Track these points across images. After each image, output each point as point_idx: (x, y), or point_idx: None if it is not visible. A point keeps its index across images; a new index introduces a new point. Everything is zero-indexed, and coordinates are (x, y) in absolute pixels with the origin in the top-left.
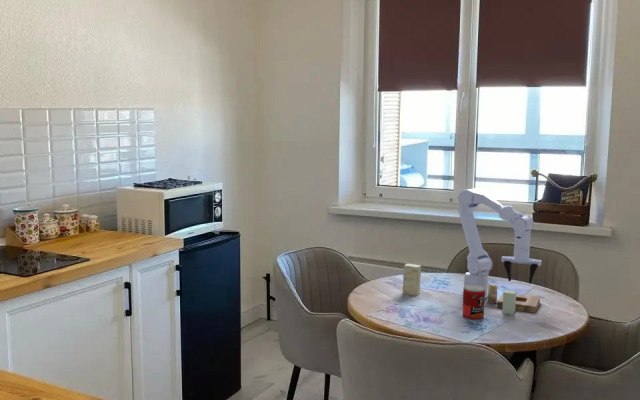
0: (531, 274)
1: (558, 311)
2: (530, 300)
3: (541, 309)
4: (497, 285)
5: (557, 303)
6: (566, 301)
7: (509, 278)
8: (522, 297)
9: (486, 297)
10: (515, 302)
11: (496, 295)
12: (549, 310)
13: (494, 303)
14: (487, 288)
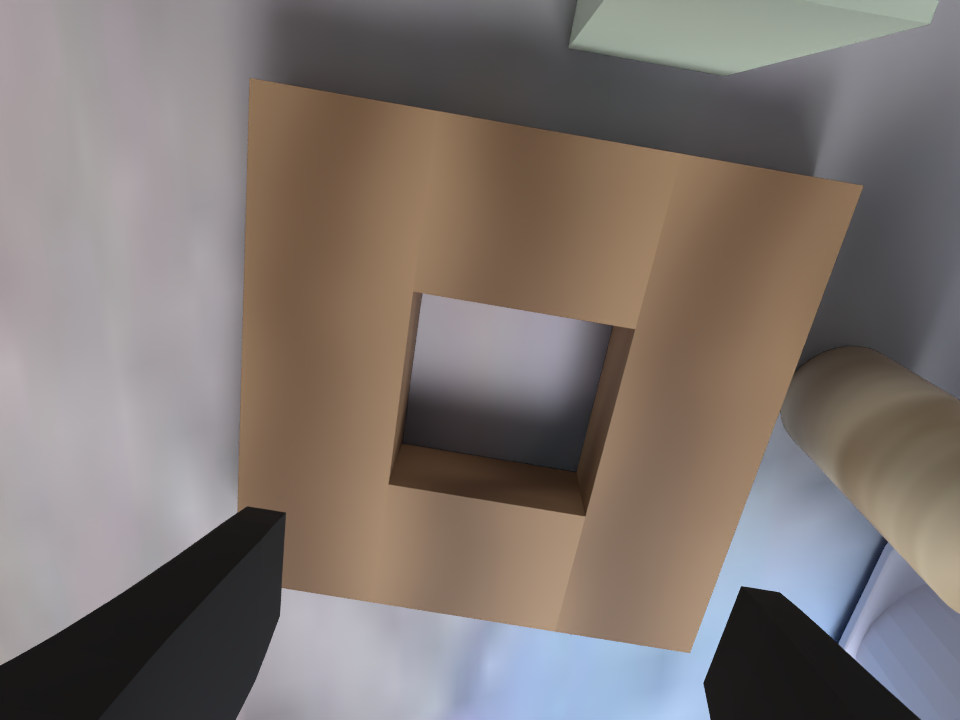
0: (56, 679)
1: (14, 263)
2: (344, 395)
3: (221, 282)
4: (934, 548)
5: (82, 565)
6: (11, 651)
7: (799, 629)
8: (454, 500)
9: (889, 544)
10: (588, 11)
11: (848, 421)
12: (122, 270)
13: (818, 355)
14: (913, 700)
